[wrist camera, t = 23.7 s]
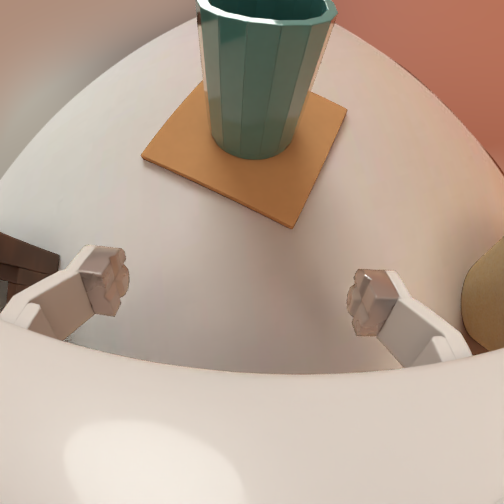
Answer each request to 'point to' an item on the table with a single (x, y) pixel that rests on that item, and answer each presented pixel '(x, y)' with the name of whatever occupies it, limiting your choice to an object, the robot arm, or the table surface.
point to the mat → (243, 170)
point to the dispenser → (24, 264)
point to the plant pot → (485, 299)
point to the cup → (260, 69)
